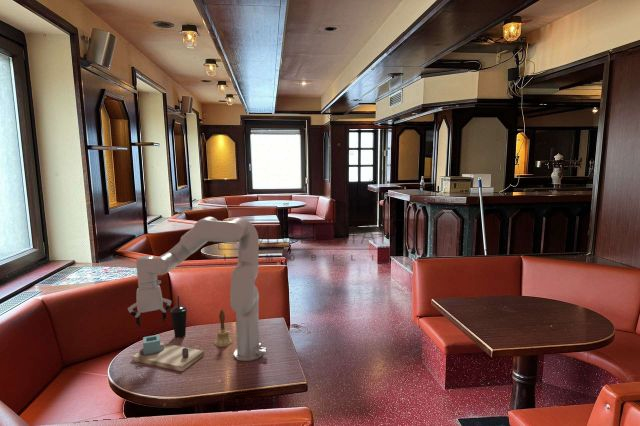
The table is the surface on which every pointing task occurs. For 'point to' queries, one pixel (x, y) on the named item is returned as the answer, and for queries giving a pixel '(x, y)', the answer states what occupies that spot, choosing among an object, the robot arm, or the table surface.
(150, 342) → the collar
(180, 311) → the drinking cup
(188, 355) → the base board
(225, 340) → the hand bell
